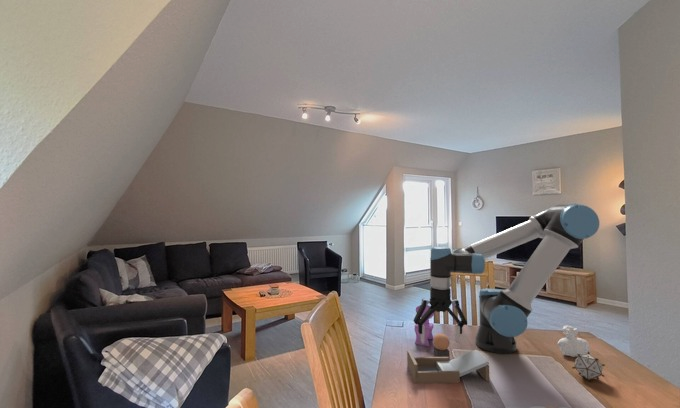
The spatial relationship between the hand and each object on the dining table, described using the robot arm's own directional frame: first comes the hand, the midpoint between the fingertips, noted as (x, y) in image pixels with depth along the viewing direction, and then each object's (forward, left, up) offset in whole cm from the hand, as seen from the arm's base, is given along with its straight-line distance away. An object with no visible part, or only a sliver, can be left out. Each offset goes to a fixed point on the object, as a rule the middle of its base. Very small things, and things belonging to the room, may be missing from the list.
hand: (440, 342), depth 123 cm
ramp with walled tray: (+2, +14, -5) cm, 15 cm away
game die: (-43, +18, -5) cm, 47 cm away
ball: (0, 0, -3) cm, 3 cm away
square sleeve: (0, 0, -5) cm, 5 cm away
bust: (-51, 0, -5) cm, 52 cm away
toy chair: (+3, -13, -5) cm, 14 cm away
